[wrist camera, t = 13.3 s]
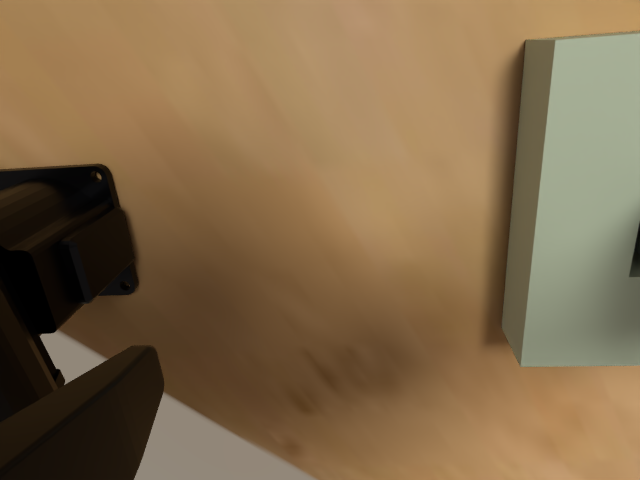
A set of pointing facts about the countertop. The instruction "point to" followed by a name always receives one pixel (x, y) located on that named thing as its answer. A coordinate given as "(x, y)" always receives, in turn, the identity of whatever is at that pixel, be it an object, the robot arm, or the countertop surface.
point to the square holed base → (576, 205)
